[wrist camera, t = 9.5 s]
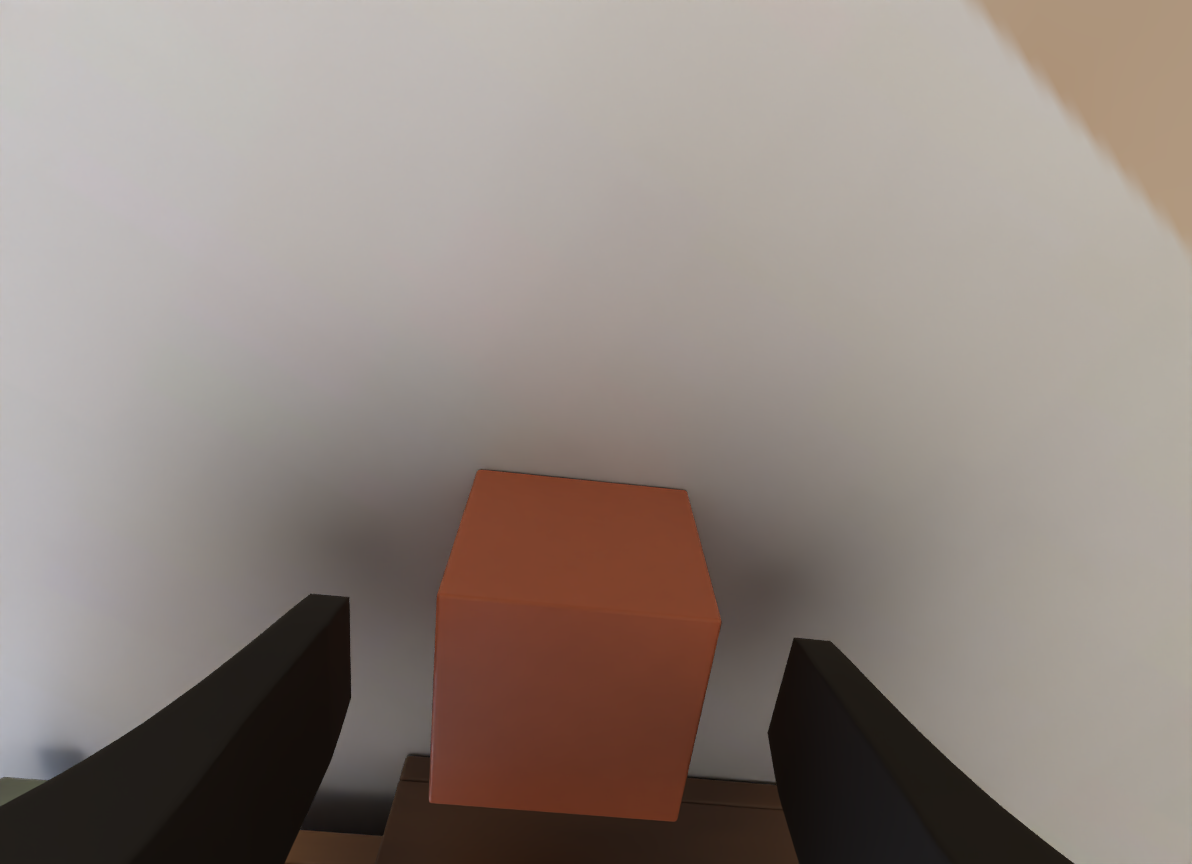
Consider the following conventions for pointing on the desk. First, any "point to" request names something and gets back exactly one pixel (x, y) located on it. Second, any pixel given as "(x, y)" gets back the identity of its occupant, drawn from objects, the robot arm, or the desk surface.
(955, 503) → the desk surface
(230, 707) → the robot arm
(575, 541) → the block
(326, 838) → the drawer
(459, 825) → the cabinet
